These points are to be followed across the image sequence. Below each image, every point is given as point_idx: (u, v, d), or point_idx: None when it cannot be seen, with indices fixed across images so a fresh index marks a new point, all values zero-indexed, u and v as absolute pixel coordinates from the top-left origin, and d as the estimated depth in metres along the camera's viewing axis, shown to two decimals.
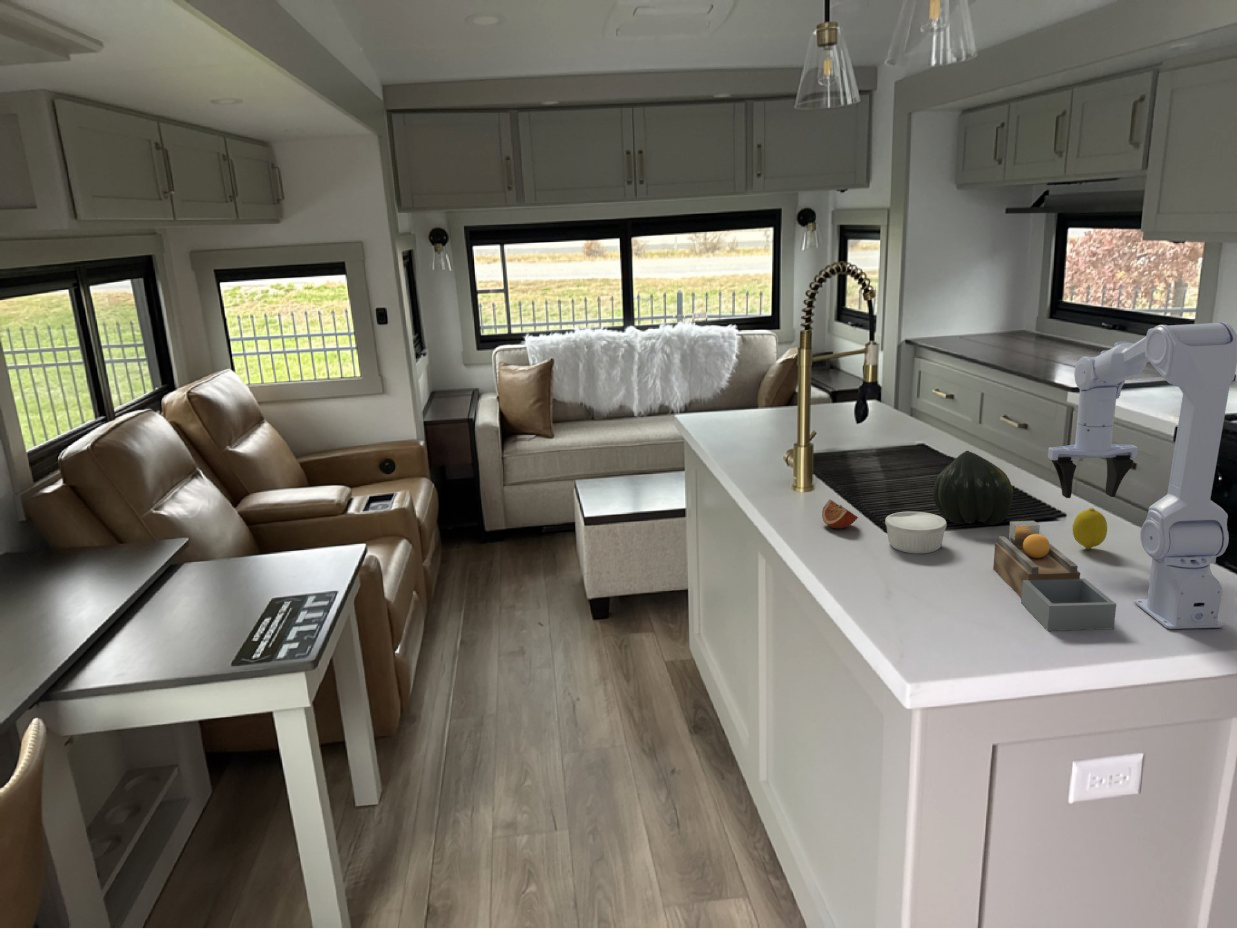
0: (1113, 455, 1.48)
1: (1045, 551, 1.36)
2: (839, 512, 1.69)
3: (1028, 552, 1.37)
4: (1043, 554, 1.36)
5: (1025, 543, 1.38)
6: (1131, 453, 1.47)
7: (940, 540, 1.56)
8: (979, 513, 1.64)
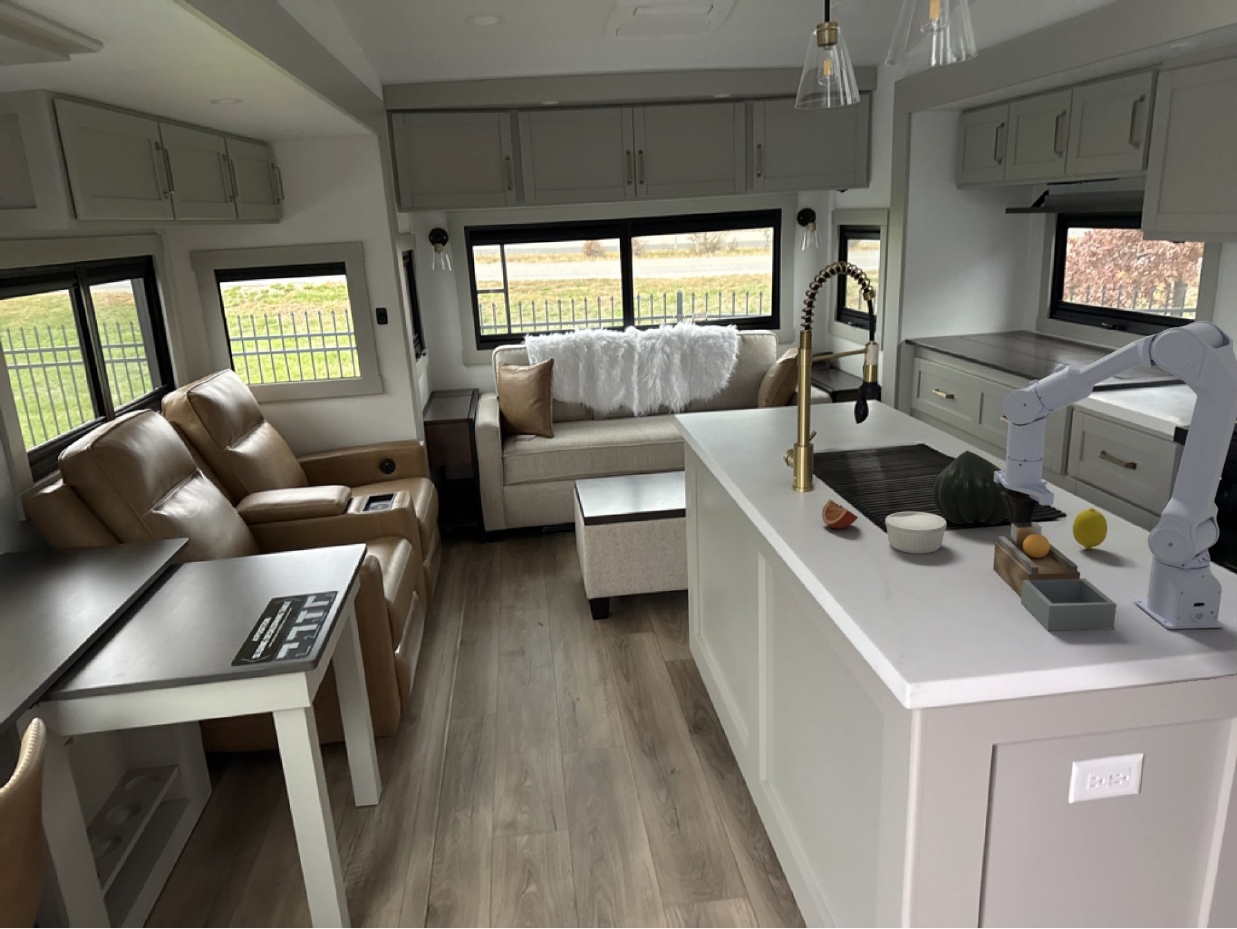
0: (1032, 496, 1.39)
1: (1045, 551, 1.36)
2: (839, 512, 1.69)
3: (1028, 552, 1.37)
4: (1043, 554, 1.36)
5: (1025, 543, 1.38)
6: (1039, 499, 1.36)
7: (940, 540, 1.56)
8: (979, 513, 1.64)
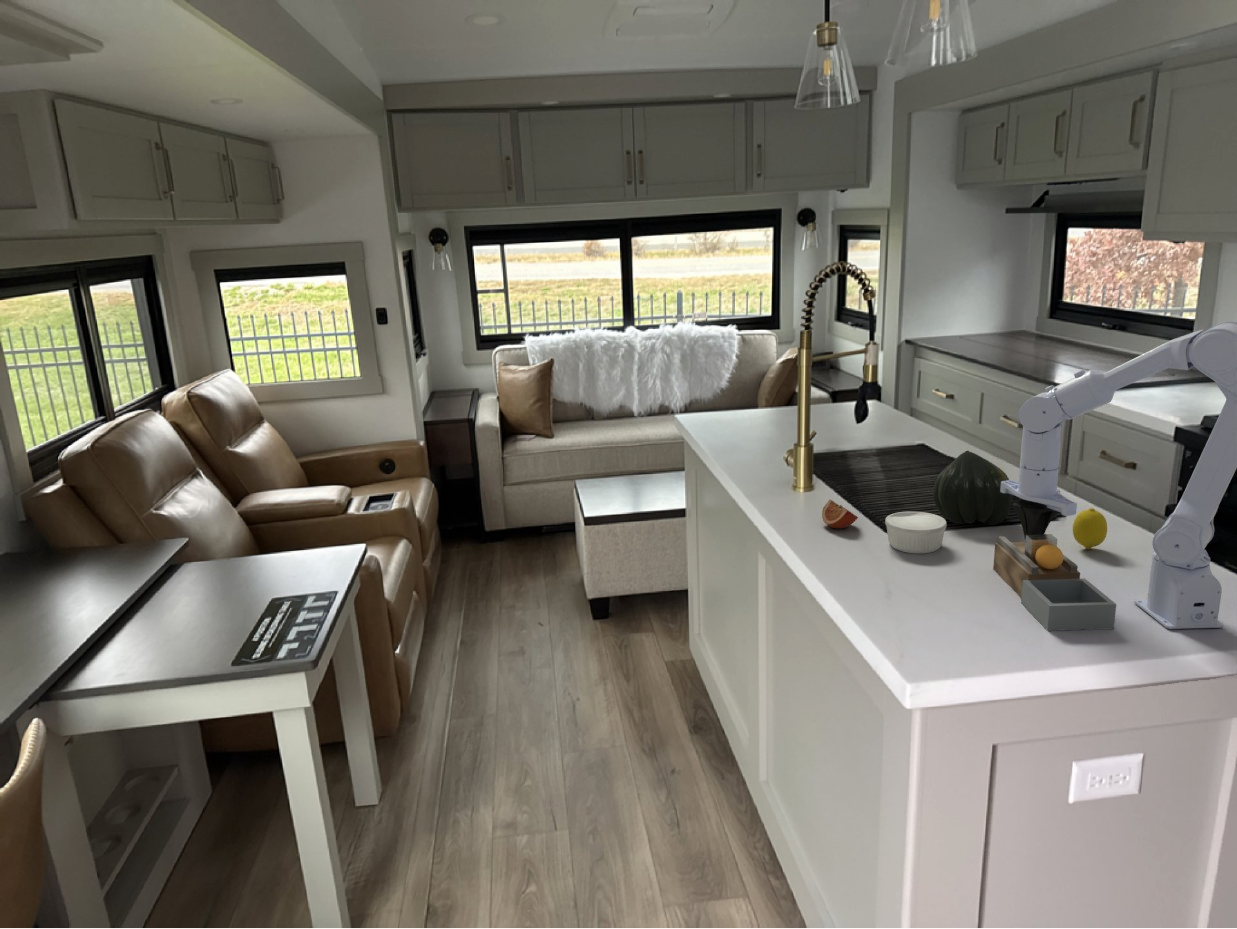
0: (1051, 506, 1.34)
1: None
2: (839, 512, 1.69)
3: None
4: None
5: (1037, 561, 1.33)
6: (1061, 509, 1.31)
7: (940, 540, 1.56)
8: (979, 513, 1.64)
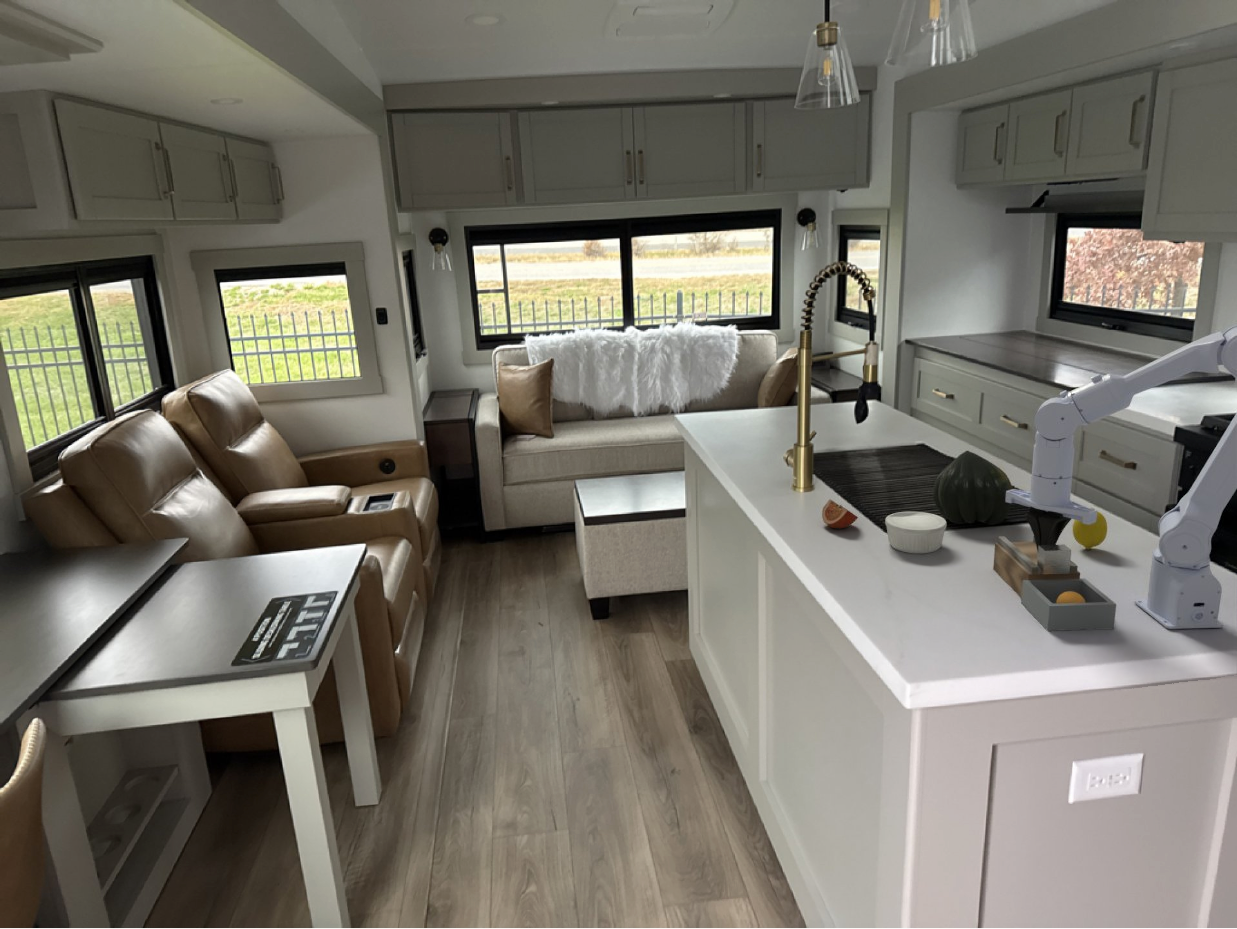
0: (1068, 515, 1.29)
1: None
2: (839, 512, 1.69)
3: None
4: None
5: None
6: (1082, 518, 1.27)
7: (940, 540, 1.56)
8: (979, 513, 1.64)
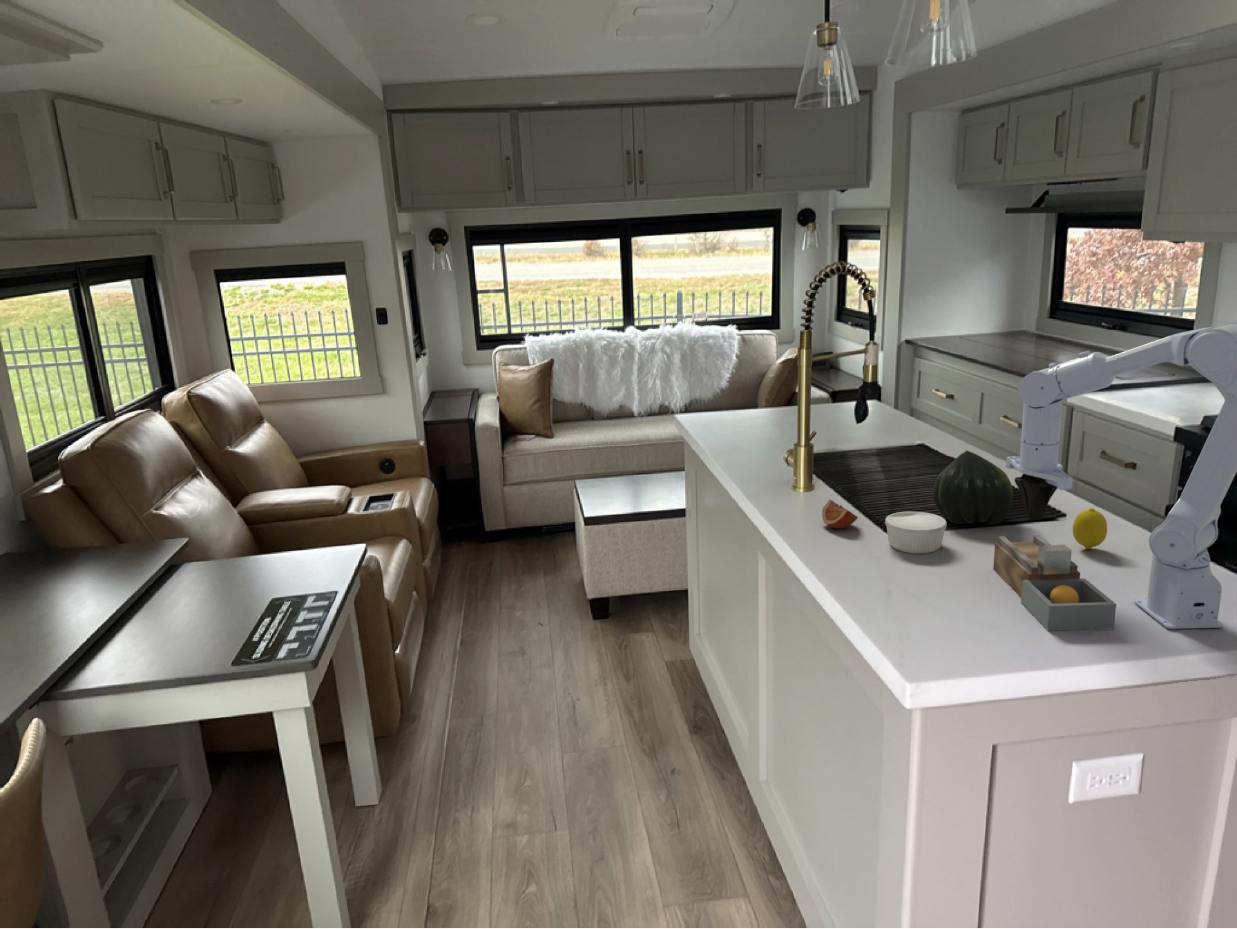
0: (1049, 481, 1.35)
1: (1074, 601, 1.27)
2: (839, 512, 1.69)
3: None
4: None
5: (1052, 595, 1.28)
6: (1057, 483, 1.33)
7: (940, 540, 1.56)
8: (979, 513, 1.64)
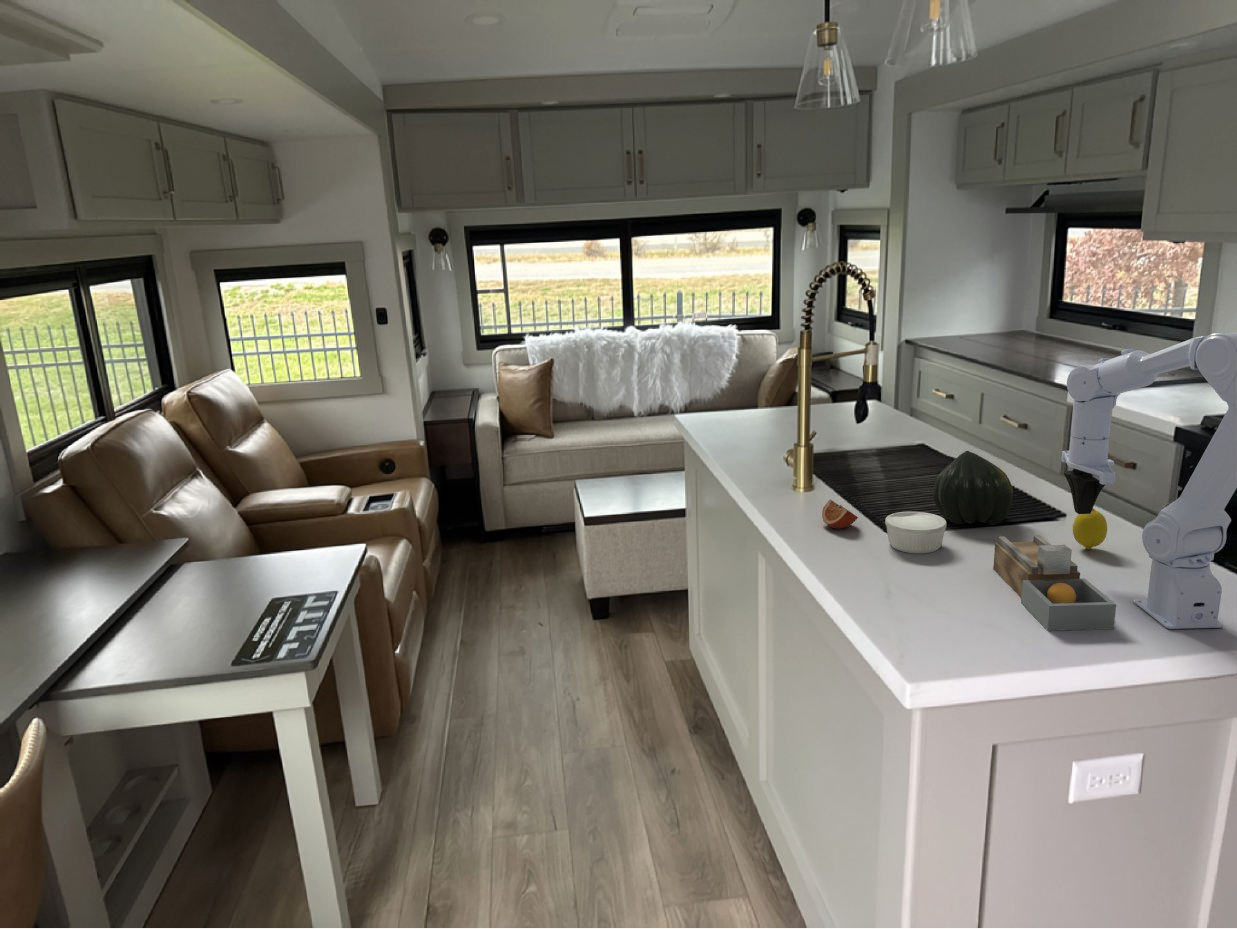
0: (1095, 475, 1.37)
1: (1071, 593, 1.28)
2: (839, 512, 1.69)
3: (1054, 598, 1.28)
4: (1070, 597, 1.27)
5: (1048, 592, 1.30)
6: (1099, 478, 1.34)
7: (940, 540, 1.56)
8: (979, 513, 1.64)
